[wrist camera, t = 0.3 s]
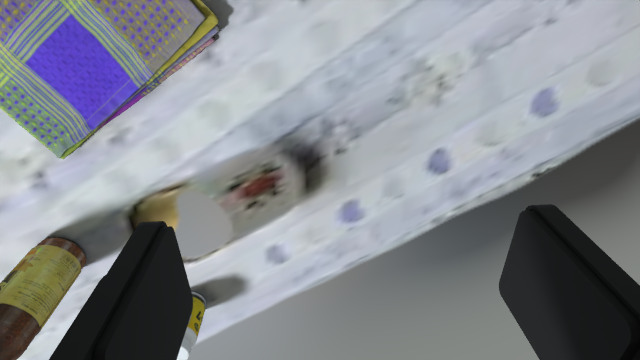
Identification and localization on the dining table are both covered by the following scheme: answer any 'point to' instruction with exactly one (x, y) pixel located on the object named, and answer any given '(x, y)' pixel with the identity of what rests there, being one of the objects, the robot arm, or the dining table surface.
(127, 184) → the dining table surface
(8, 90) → the dish towel
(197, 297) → the supplement bottle
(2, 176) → the dining table surface
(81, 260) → the sauce bottle
